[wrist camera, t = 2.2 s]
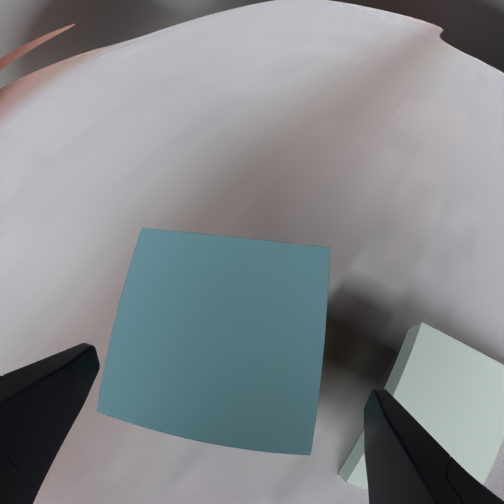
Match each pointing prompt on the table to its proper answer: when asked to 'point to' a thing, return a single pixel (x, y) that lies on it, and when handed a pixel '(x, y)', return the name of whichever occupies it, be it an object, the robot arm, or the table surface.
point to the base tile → (445, 401)
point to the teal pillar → (220, 340)
